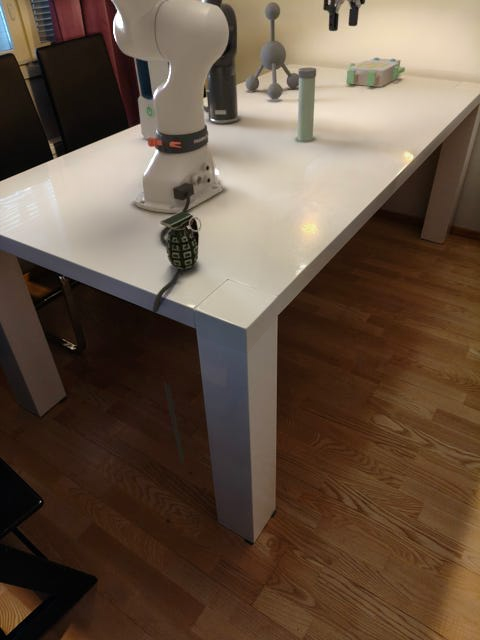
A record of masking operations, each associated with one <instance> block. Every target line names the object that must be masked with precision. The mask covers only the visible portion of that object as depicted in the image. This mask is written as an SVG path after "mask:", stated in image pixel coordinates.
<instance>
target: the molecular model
mask: <svg viewBox="0 0 480 640" xmlns="http://www.w3.org/2000/svg"><path fill="white" fill-rule="evenodd" d="M280 14H281V8H280V5H279V4H278V3H276V2H275V1H271V2H269V3H268V4H267V5H266V6H265V8H264V15H265V17H266V18H267V20H269V21H270V40H269V41H267V42H266V43H264V44H263V45H262V47H261V49H260V52H259V60H260V65H259V67H258V68H257V71H256V72H255V74H254V75H250V76H248V77H247V78H246V79H245V87H246V89H247V90H248V91H250V92H254V91H257V90H258V89H259V87H260V79H259V76H260V74H261V73H262V71H263V69H264V68H265V69H266V70H269V71H271V77H272V83H271V84H269V86H267V95H268V97H269V98H270V99H272V100H278V99H279V98H280V97H281V96H282V94H283V87H282V85H281V84H280V83H278V81H277V79H278V78H277V70H278V69H280V68H282V71H284V73H285V74H286V75H287V77H286V85H287V87H288V88H290V89H296V88H299V76H298V73H296V72H291V71H290V70H289V68H288V67H287V66H286V64H285V63H286V62H285V61H286V58H287V52H286V49H285V46H284V45H283V44H282V43H281V42H279V41H278V40H276V38H275V36H276V35H275V33H276V32H275V31H276V30H275V28H276V27H275V23H276V21H275V20H277V19H278V18H279V17H280Z"/></svg>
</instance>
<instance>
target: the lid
mask: <svg viewBox="0 0 480 640" xmlns="http://www.w3.org/2000/svg"><path fill="white" fill-rule="evenodd" d="M297 74H298V76H299V77H301V78H312V77H315V78H316V77H317V68H316V67H301V68H298V71H297Z"/></svg>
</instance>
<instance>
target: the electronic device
mask: <svg viewBox="0 0 480 640" xmlns="http://www.w3.org/2000/svg"><path fill="white" fill-rule="evenodd" d="M133 60H134V61H133V62H134V65H135V72H136V79H137V86H138V90H139V97H138V98H137V103H138V113H139V123H140V129H141V130H140V131H141V135H142V136H143V138H144V139H146V140H148V139H149V138H150V137H152V138H156V130H157V129H158V128H157V121H156V114H155V108H154V101H153V97H154V93H155V91H156V89H157V88H158V86H159V85H161V84H162V83H163V82H164V81H166V80H168V77H169V72H170V67H169V62H161V61H144V60H141V59H137V58H134V57H133Z"/></svg>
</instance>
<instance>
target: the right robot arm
mask: <svg viewBox="0 0 480 640" xmlns="http://www.w3.org/2000/svg"><path fill="white" fill-rule="evenodd" d="M200 1H201V2H206V3H209V4H213V5H216V6H218V7H219V8H220V9H221V10H222V12H223V13H224V15H225V17H226V20H227V23H228V28H229V38H228V43H227V46H226V49H225V51H224V52H223V54H222V55H221V57H220V58H219V59H218V60H216V62H215V63H214V64H213V65H212V67H211V68H210V70H209V72H208V75H207V85H208V87H207V90H206V99H207V106H205V105H204V111H206V112H208V120H209V121H210V122H211V123H214V124H219V125H225V124H232V123H235V122H237V121H239V113H238V112H239V111H238V88H237V70H236V68H237V67H236V56H237V53H238V21H237V16H236V12H235V9H234V7H232V5H231V4H229V3H226V2H225V3H224V2H223V0H200ZM329 1H330V2H329ZM346 1H347V2H348V5H349V12H348V26H349V27H356V26H358V21H359V11H360V10H359V9H361V7H362V5H365V4H366V0H323V5H322V7H323V8H322V9H323V11H326V12H327V13H328V31H330V32H337V31H338V30H339V16H340V13H339V11H340V9H341V6H342V5H343V4H345V2H346Z"/></svg>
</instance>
